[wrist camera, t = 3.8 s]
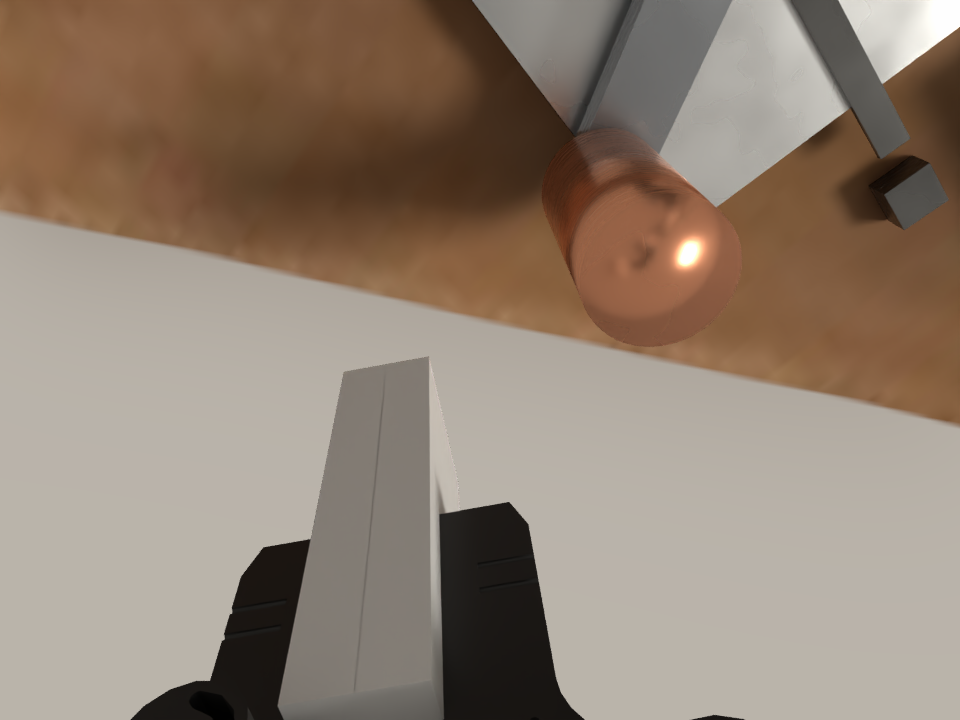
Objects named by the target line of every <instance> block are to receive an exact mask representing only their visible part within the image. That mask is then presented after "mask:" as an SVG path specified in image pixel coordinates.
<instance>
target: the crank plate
mask: <svg viewBox="0 0 960 720" xmlns="http://www.w3.org/2000/svg"><path fill="white" fill-rule="evenodd" d="M472 1H473V2H474V4H475V5H476V6H477V7H478V9H479V10H480V11H481V13H482V14H483V15H484V17H485V18H486V19H487V21H488V22H489V23H490V25H491V26H492V27H493V29H494V30H495V31H496V33H497V34H498V35H499V37H500V38H501V39H502V41H503V42H504V43H505V45H506V46H507V47H508V49H509V50H510V51H511V53H512V54H513V55H514V56H515V58H516V59H517V60H518V62H519V63H520V64H521V66H522V67H523V68H524V70H525V71H526V72H527V74H528V75H529V76H530V78H531V79H532V80H533V82H534V83H535V84H536V86H537V87H538V88H539V90H540V91H541V92H542V94H543V95H544V96H545V98H546V99H547V100H548V102H549V103H550V104H551V106H552V107H553V108H554V109H555V111H556V112H557V113H558V115H559V116H560V117H561V119H562V120H563V121H564V123H565V124H566V125H567V127H568V128H569V129H570V131H571V132H572V133H573V135H574V136H576V134H577V132H578V129H579V127H580V124H581V122H582V120H583V117H584V115H585V113H586V110H587V108H588V105H589V103H590V101H591V98H592V96H593V93H594V91H595V89H596V86H597V84H598V82H599V79H600V77H601V74H602V72H603V70H604V67H605V65H606V63H607V60H608V58H609V55H610V53H611V51H612V48H613V46H614V43H615V41H616V39H617V36H618V34H619V32H620V29H621V27H622V24H623V22H624V20H625V17H626V15H627V12H628V10H629V8H630V5H631V3H632V1H633V0H472ZM958 27H960V0H732V2H731V4H730V6H729V8H728V10H727V13H726V15H725V17H724V19H723V21H722V23H721V25H720V27H719V29H718V31H717V34H716V36H715V38H714V40H713V42H712V44H711V46H710V48H709V50H708V52H707V55H706V57H705V59H704V61H703V63H702V65H701V67H700V69H699V71H698V74H697V76H696V78H695V80H694V82H693V84H692V86H691V88H690V90H689V92H688V95H687V97H686V99H685V101H684V103H683V105H682V107H681V109H680V111H679V113H678V116H677V118H676V120H675V122H674V124H673V126H672V128H671V130H670V132H669V134H668V137H667V139H666V141H665V143H664V145H663V147H662V149H661V151H660V153H659V155H660V156H661V157H662V158H663V159H665V160H666V161H667V162H668V163H669V164H670V165H671V166H672V167H673V168H674V169H675V170H676V171H677V172H679V173H680V174H681V175H682V176H683V177H684V178H685V179H686V180H687V181H688V182H689V183H690V184H691V185H693V186H694V187H695V188H696V189H697V190H698V191H699V192H700V193H701V194H702V195H703V196H704V197H705V198H707V199H708V200H709V201H710V202H711V203H712V204H713V205H714V206H715V207H717V206H719V205H720V204H721V203H723V202H724V201H725V200H727V199H728V198H729V197H731V196H732V195H733V194H735V193H736V192H737V191H739V190H740V189H742V188H743V187H744V186H746V185H747V184H748V183H750V182H751V181H752V180H754V179H755V178H756V177H758V176H759V175H760V174H762V173H763V172H764V171H766V170H767V169H768V168H770V167H771V166H773V165H774V164H775V163H777V162H778V161H779V160H781V159H782V158H783V157H785V156H786V155H787V154H789V153H790V152H791V151H793V150H794V149H795V148H797V147H798V146H799V145H801V144H802V143H803V142H805V141H806V140H808V139H809V138H810V137H812V136H813V135H814V134H816V133H817V132H818V131H820V130H821V129H822V128H824V127H825V126H826V125H828V124H829V123H830V122H832V121H833V120H834V119H836V118H837V117H838V116H840V115H841V114H843V113H844V112H845V111H847V110H848V109H849V108H851V110H852V112H853V114H854V115H855V117H856V119H857V121H858V123H859V125H860V126H861V128H862V130H863V132H864V134H865V135H866V137H867V139H868V141H869V143H870V144H871V146H872V148H873V150H874V152H875V153H876V155H877V157H878V158H880V159H882V158H884V157H885V156H886V155H888V154H889V153H891V152H892V151H893V150H895V149H896V148H898V147H899V146H900V145H902V144H903V143H905V142H906V141H907V140H909V139H910V137H909V135H908V133H907V131H906V129H905V127H904V125H903V123H902V121H901V119H900V117H899V115H898V114H897V112H896V110H895V108H894V106H893V104H892V102H891V100H890V98H889V96H888V94H887V93H886V91H885V89H884V87H883V85H882V84H883V83H884V82H886V81H887V80H888V79H890V78H891V77H892V76H894V75H895V74H896V73H898V72H899V71H900V70H902V69H903V68H904V67H906V66H907V65H908V64H910V63H911V62H913V61H914V60H915V59H917V58H918V57H919V56H921V55H922V54H923V53H925V52H926V51H927V50H929V49H930V48H931V47H933V46H934V45H935V44H937V43H938V42H939V41H941V40H942V39H944V38H945V37H946V36H948V35H949V34H950V33H952V32H953V31H954V30H956V29H957V28H958ZM869 187H870V189H871V191H872V193H873V194H874V196H875V198H876V200H877V201H878V203H879V205H880V207H881V208H882V210H883V212H884V214H885V215H886V217H887V219H888V221H890V222H892V223H893V224H895V225H897V226H898V227H900V228H902V229H903V230H905V229H907V228H908V227H910V226H911V225H912V224H914V223H915V222H917V221H918V220H920V219H921V218H923V217H924V216H926V215H927V214H929V213H930V212H932V211H933V210H935V209H936V208H938V207H939V206H940V205H942V204H943V203H945V202H946V201H948V200H949V199H948V197H947V195H946V194H945V192H944V190H943V188H942V186H941V184H940V182H939V180H938V178H937V176H936V174H935V172H934V170H933V168H932V166H931V165H930V163H928V162H926V161H924V160H922V159H919V158H917V157H915V156H913V155H912V156H911V157H909V158H908V159H907V160H905V161H904V162H902V163H901V164H899V165H898V166H897V167H895V168H894V169H892V170H891V171H890V172H888V173H887V174H885V175H884V176H882V177H881V178H880V179H878V180H877V181H875V182H874V183H873V184H871V185H870V186H869Z"/></svg>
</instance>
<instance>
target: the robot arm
mask: <svg viewBox="0 0 960 720" xmlns="http://www.w3.org/2000/svg"><path fill="white" fill-rule="evenodd" d="M232 611H233V612H232V614H230V616H229V619H228V622H227V626H226V629H225V633H224V635H225V640H223V641H222V643H221V646H220V650H219V653H218V656H217V659H216V663H215V666H214V670H213V673H212V676H211V680H210V681H195V682H192V683H189V684H186V685H183V686H180V687H177V688H173V689H171V690H169V691H167V692H165V693H164V694H162V695H161V696H159V697H158V698H156V699H154V700H153V701H151V702H150V703H148V704H146V705H145V706H144V707H143V708H142V709H141V710H140V711H139V712H138V713H137V714H136V715H135V716H134V717H133V718H132V719H131V720H584V719H583V718H582V717H581V716H580V715H579V714H578V713H576V712H575V711H574V710H573V709H572V708H571V707H570V705H569V704H568V703H567V701H566V699H565V698H564V697H563V695H562V694H561V692H560V689H559V686H558V683H557V680H556V676H555V670H554V664H553V659H552V653H551V648H550V642H549V637H548V631H547V625H546V620H545V614H544V608H543V603H542V597H541V592H540V586H539V582H538V575H537V570H536V564H535V559H534V553H533V548H532V542H531V537H530V531H529V526H528V523H527V522H526V521H525V520H524V519H523V518H522V516H521V515H520V514H519V513H518V512H517V511H516V509H515V508H514V507H513V506H512V505H511V504H510V503H509V502H507V503H501V504H495V505H490V506H484V507H478V508H472V509H467V510H461V511H460V507H459V489H458V479H457V475H456V470H455V466H454V462H453V458H452V453H451V449H450V445H449V440H448V436H447V431H446V427H445V423H444V418H443V414H442V410H441V406H440V401H439V397H438V393H437V388H436V384H435V380H434V375H433V371H432V367H431V362H430V358H429V357H424V358H419V359H413V360H407V361H401V362H396V363H390V364H385V365H380V366H374V367H368V368H363V369H358V370H352V371H347V372H344V374H343V379H342V384H341V390H340V394H339V399H338V405H337V410H336V415H335V419H334V425H333V429H332V434H331V440H330V445H329V450H328V455H327V460H326V465H325V470H324V475H323V480H322V485H321V490H320V495H319V500H318V505H317V510H316V515H315V520H314V526H313V530H312V536H311V539H310V540H304V541H298V542H292V543H287V544H280V545H275V546H270V547H264V548H263V549H262V550H261V551H260V553H259V554H258V555H257V557H256V558H255V559H254V561H253V562H252V563H251V564H250V566H249V567H248V568H247V570H246V571H245V572H244V574H243V575H242V576H241V579H240V582H239V586H238V589H237V593H236V596H235V599H234V602H233V606H232ZM693 720H744V719H739V718H732V717H725V716H718V715H712V716H707V717H702V718H697V719H693Z"/></svg>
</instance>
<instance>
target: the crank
mask: <svg viewBox="0 0 960 720" xmlns="http://www.w3.org/2000/svg"><path fill="white" fill-rule="evenodd" d="M731 2H732V0H633V1H632V3H631V5H630V8H629V10H628V12H627V15H626V17H625V20H624V22H623V24H622V27H621V29H620V32H619V34H618V36H617V39H616V41H615V43H614V46H613V48H612V51H611V53H610V55H609V58H608V60H607V63H606V65H605V67H604V70H603V72H602V74H601V77H600V79H599V82H598V84H597V86H596V89H595V91H594V93H593V96H592V98H591V101H590V103H589V105H588V108H587V110H586V113H585V115H584V117H583V120H582V122H581V124H580V127H579V129H578V132H577V134H576V136H575V138H573V139H572V140H571V141H569V142H568V143H567V144H566V145H564V146H563V147H562V148H561V149H560V150H559V151H558V153H557V154H556V155H555V156H554V158H553V159H552V161H551V163H550V164H549V166H548V169H547V171H546V174H545V177H544V180H543V185H542V203H543V208H544V211H545V214H546V217H547V219H548V222H549V224H550V226H551V229H552V231H553V233H554V236H555V238H556V241H557V243H558V245H559V248H560V250H561V252H562V255H563V257H564V260H565V262H566V264H567V267H568V269H569V271H570V274H571V276H572V279H573V281H574V283H575V286H576V288H577V290H578V293H579V295H580V298H581V300H582V302H583V305H584V307H585V309H586V311H587V313H588V315H589V316H590V318H591V319H592V320H593V322H594V323H595V324H596V325H597V326H598V327H599V328H600V329H601V330H602V331H603V332H605V333H606V334H607V335H609V336H611V337H613V338H614V339H616V340H619V341H621V342H624V343H627V344H631V345H635V346H644V347H655V346H663V345H668V344H672V343H676V342H679V341H682V340H684V339H687V338H689V337H691V336H693V335H695V334H696V333H698V332H700V331H701V330H703V329H704V328H705V327H707V326H708V325H709V324H711V323H712V322H713V321H714V320H715V319H716V318H717V317H718V316H719V315H720V314H721V312H722V311H723V310H724V309H725V308H726V306H727V304H728V303H729V301H730V300H731V298H732V296H733V294H734V292H735V290H736V288H737V285H738V282H739V279H740V274H741V268H742V252H741V246H740V241H739V238H738V236H737V233H736V231H735V229H734V227H733V226H732V224H731V222H730V221H729V220H728V219H727V218H726V216H725V215H724V214H723V213H722V212H721V211H720V210H718V209H717V208H716V207H715V206H714V205H713V204H712V203H711V202H710V201H709V200H708V199H707V198H705V197H704V196H703V195H702V194H701V193H700V192H699V191H698V190H697V189H696V188H695V187H694V186H693V185H691V184H690V183H689V182H688V181H687V180H686V179H685V178H684V177H683V176H682V175H681V174H680V173H679V172H677V171H676V170H675V169H674V168H673V167H672V166H671V165H670V164H669V163H668V162H667V161H666V160H665V159H663V158H662V157H661V156H660V155H659V153H660V151H661V149H662V147H663V145H664V143H665V141H666V139H667V137H668V134H669V132H670V130H671V128H672V126H673V124H674V122H675V120H676V118H677V116H678V113H679V111H680V109H681V107H682V105H683V103H684V101H685V99H686V97H687V95H688V92H689V90H690V88H691V86H692V84H693V82H694V80H695V78H696V76H697V74H698V71H699V69H700V67H701V65H702V63H703V61H704V59H705V57H706V55H707V52H708V50H709V48H710V46H711V44H712V42H713V40H714V38H715V36H716V34H717V31H718V29H719V27H720V25H721V23H722V21H723V19H724V17H725V15H726V13H727V10H728V8H729V6H730V4H731Z"/></svg>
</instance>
